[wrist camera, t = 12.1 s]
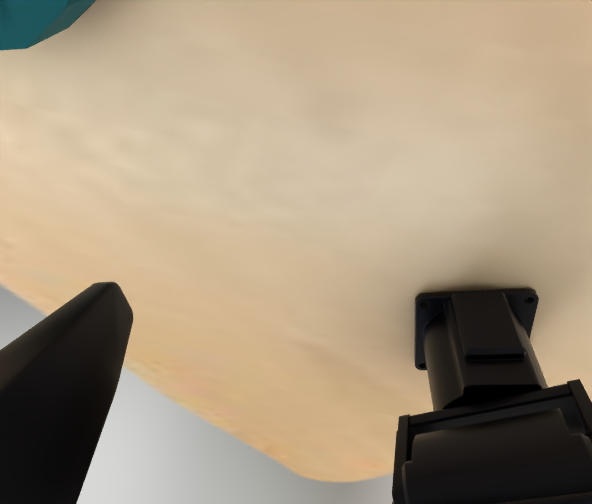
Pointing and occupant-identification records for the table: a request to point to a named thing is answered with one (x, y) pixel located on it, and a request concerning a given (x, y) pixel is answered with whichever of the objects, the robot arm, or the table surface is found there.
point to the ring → (36, 20)
